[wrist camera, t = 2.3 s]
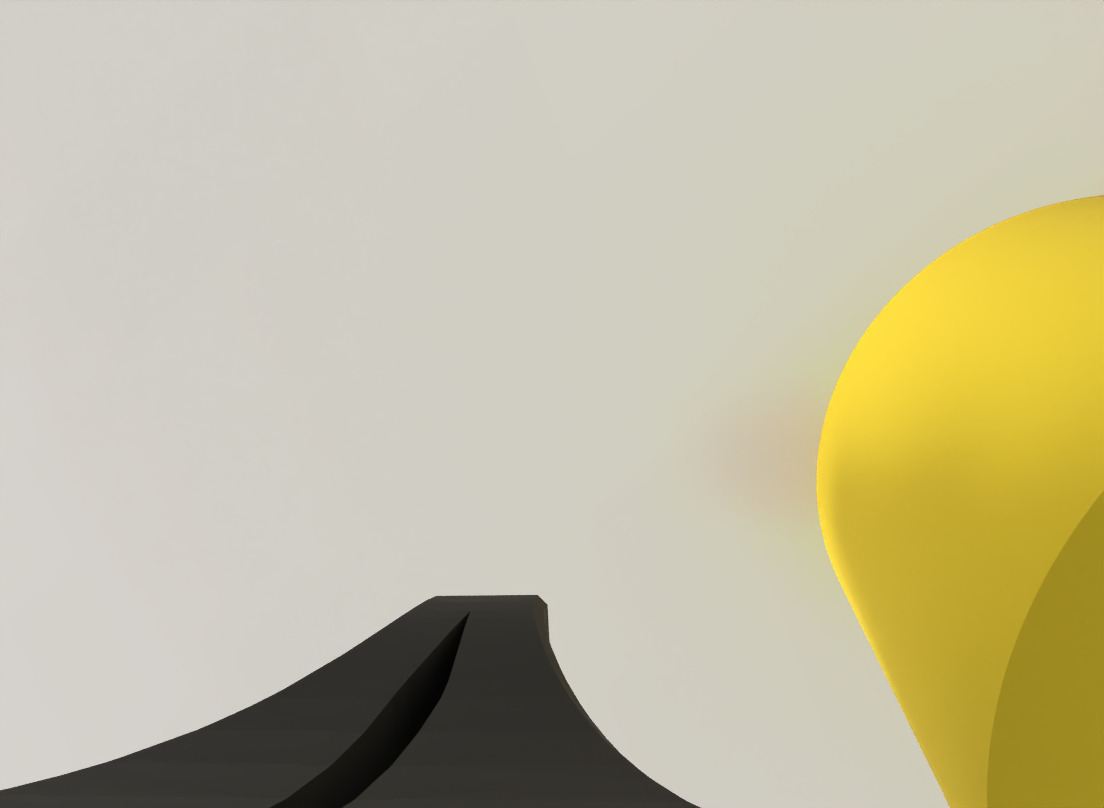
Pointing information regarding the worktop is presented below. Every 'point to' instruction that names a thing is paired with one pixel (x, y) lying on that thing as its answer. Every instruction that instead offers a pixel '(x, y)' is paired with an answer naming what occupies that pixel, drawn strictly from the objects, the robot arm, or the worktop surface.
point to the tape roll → (984, 507)
